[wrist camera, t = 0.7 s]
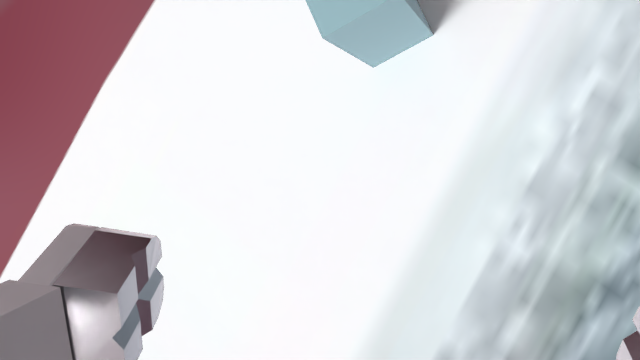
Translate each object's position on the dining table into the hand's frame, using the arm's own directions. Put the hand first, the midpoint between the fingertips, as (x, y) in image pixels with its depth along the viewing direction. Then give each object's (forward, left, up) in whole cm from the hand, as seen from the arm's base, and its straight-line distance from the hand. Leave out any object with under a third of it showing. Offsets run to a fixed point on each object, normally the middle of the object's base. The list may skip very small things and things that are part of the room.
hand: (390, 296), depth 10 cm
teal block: (+2, -15, -33) cm, 37 cm away
